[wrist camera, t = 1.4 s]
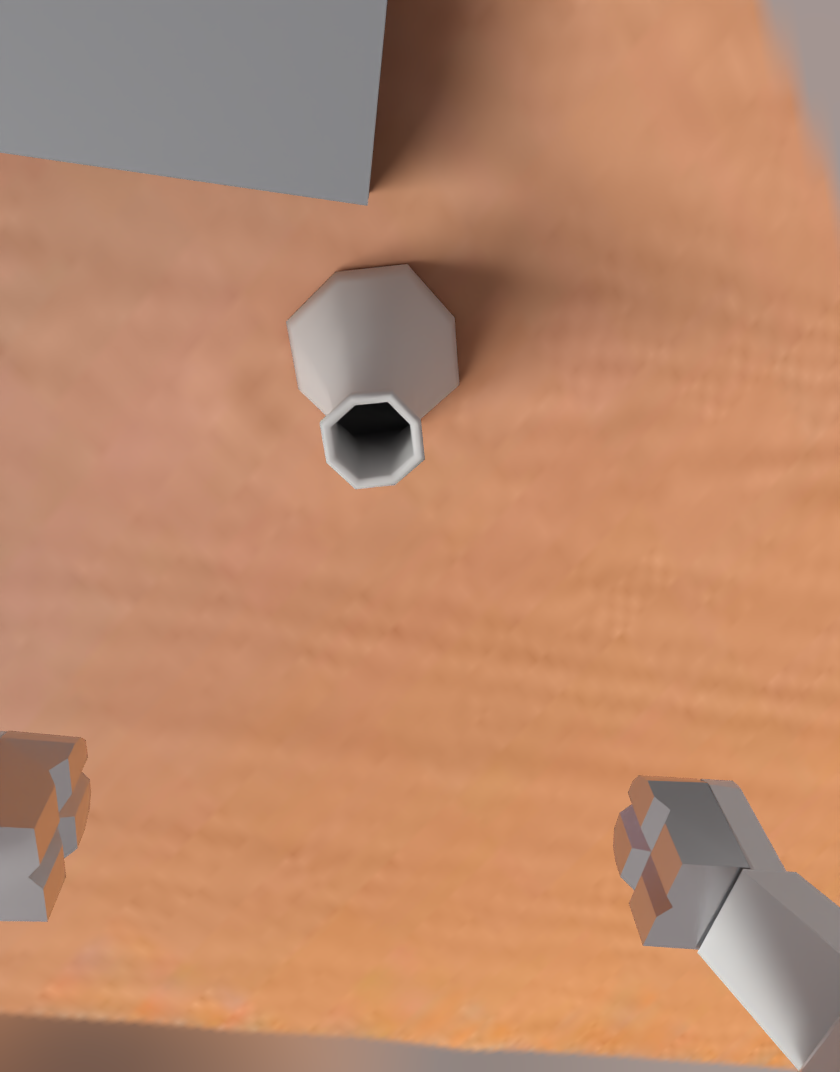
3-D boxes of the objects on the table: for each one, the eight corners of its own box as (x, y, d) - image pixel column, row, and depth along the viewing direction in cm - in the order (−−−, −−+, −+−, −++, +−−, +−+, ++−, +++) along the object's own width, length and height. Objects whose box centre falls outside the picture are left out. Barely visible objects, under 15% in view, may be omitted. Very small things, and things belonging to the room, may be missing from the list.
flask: (418, 230, 29) (434, 279, 21) (485, 392, 33) (524, 493, 24) (256, 309, 30) (206, 386, 22) (337, 457, 34) (322, 576, 25)
